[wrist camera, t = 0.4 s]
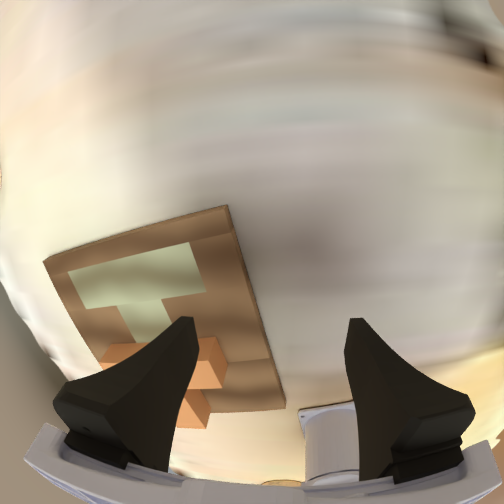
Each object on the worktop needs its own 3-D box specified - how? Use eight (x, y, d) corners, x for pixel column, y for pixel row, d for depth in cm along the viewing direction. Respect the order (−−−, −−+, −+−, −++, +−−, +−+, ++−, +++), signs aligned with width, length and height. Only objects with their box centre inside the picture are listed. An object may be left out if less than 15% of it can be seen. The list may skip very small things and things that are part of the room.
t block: (247, 406, 28) (244, 428, 25) (154, 406, 30) (146, 424, 27) (215, 336, 24) (208, 360, 21) (111, 344, 26) (98, 362, 23)
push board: (285, 400, 28) (285, 408, 27) (136, 402, 32) (133, 409, 31) (227, 204, 20) (223, 209, 19) (49, 256, 24) (42, 261, 23)
